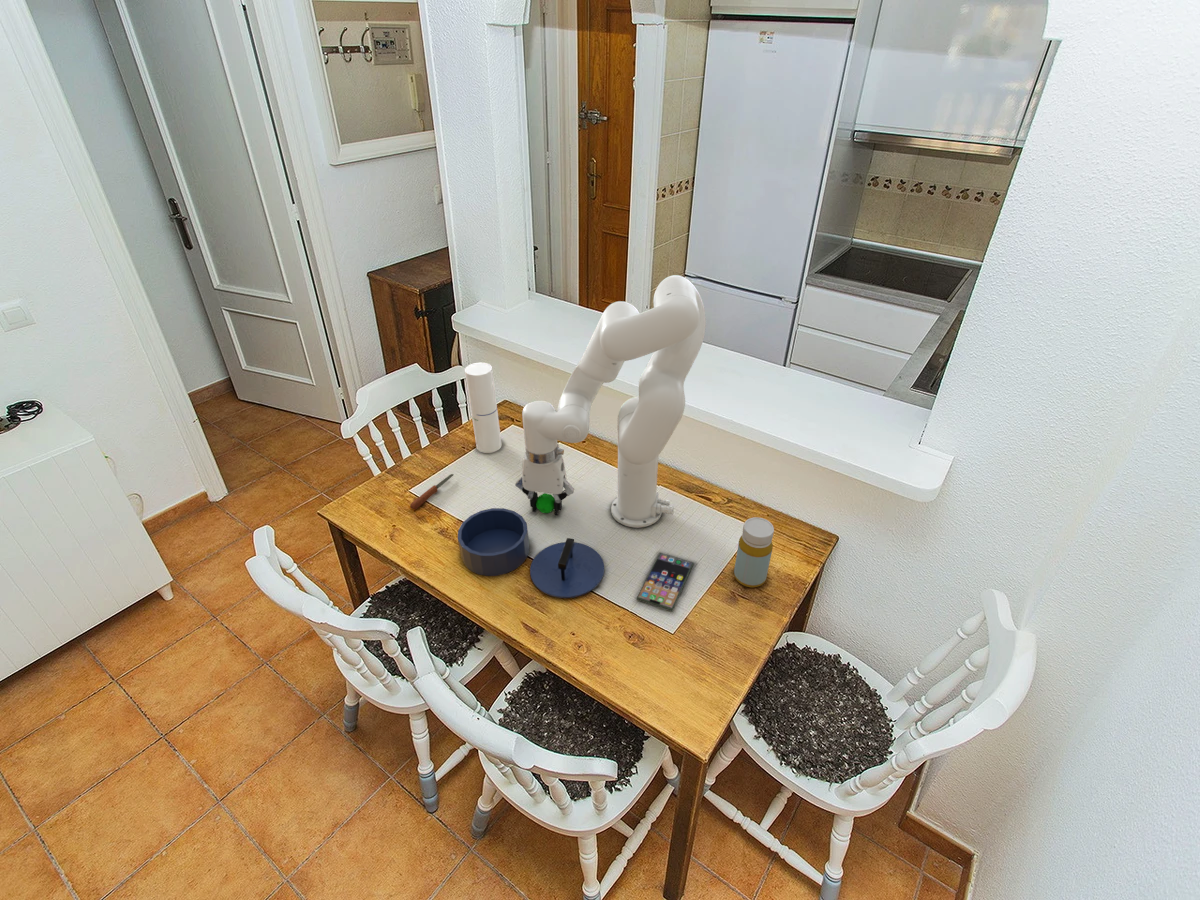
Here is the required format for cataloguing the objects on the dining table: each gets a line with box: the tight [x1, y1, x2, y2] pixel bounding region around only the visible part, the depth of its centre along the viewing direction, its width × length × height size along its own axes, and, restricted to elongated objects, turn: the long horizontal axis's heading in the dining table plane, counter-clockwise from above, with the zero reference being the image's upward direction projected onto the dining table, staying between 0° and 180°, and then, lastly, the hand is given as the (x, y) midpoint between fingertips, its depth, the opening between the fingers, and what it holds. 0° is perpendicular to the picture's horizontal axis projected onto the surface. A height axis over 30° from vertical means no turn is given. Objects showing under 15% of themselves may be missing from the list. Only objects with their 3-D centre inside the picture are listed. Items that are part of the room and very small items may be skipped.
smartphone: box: [635, 552, 695, 612], centre depth 138 cm, size 8×15×1 cm, turn 156°
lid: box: [529, 537, 605, 599], centre depth 140 cm, size 17×17×6 cm
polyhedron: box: [536, 493, 555, 514], centre depth 157 cm, size 5×5×5 cm
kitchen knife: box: [409, 473, 454, 510], centre depth 164 cm, size 16×1×2 cm, turn 149°
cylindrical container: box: [464, 361, 502, 454], centre depth 174 cm, size 7×7×25 cm
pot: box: [457, 507, 530, 577], centre depth 145 cm, size 16×16×6 cm
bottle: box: [733, 516, 775, 588], centre depth 135 cm, size 7×7×15 cm
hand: (546, 509), depth 158 cm, fingers closed on polyhedron, 5 cm apart
